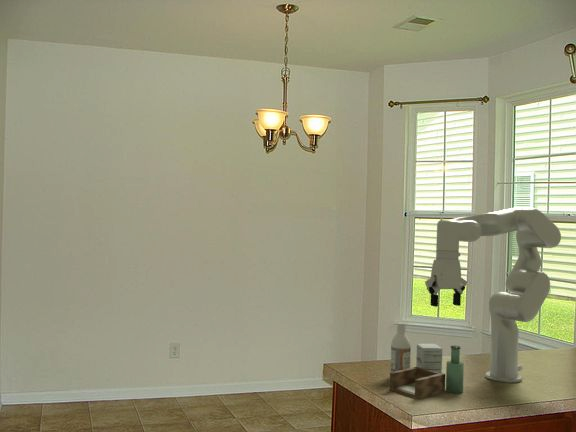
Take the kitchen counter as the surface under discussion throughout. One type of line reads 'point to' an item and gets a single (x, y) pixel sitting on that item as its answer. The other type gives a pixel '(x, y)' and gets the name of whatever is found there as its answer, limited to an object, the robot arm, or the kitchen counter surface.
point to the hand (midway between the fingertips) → (445, 305)
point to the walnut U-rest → (417, 382)
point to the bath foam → (400, 349)
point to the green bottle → (454, 372)
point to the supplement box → (429, 357)
